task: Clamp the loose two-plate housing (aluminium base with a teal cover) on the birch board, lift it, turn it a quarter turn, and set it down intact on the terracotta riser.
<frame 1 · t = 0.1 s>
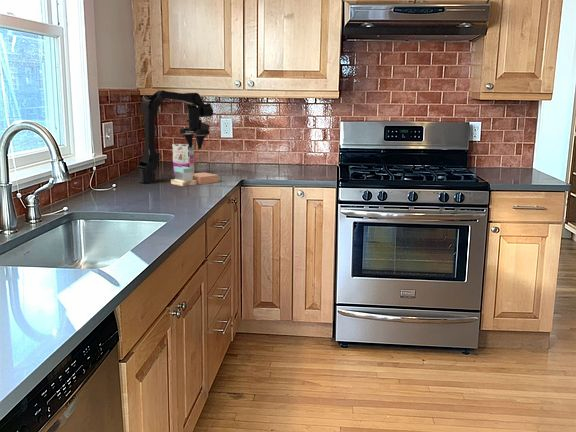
hand: (195, 148, 294), 15 cm above the table, fingers open, 8 cm apart
birch board: (183, 184, 275), on the table
candy bar box: (184, 175, 304), on the table, touching gripper
housing base: (183, 179, 275), point 2 cm above the table, touching birch board, housing cover
housing cover: (183, 171, 274), point 6 cm above the table, touching housing base
terracotta riser: (202, 181, 283), on the table
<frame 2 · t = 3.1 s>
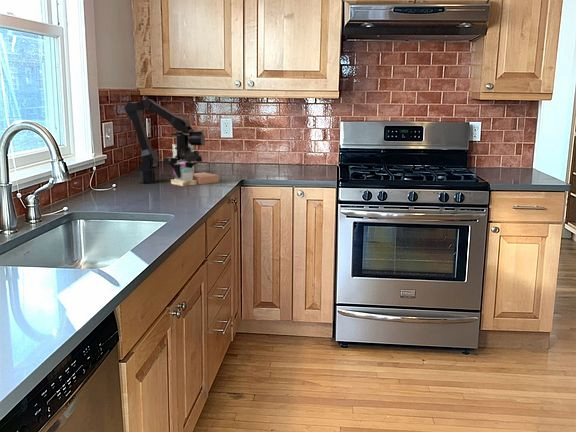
hand: (183, 177, 275), 3 cm above the table, fingers closed on housing base, 5 cm apart
candy bar box: (183, 175, 304), on the table
housing base: (183, 179, 275), point 2 cm above the table, touching birch board, gripper, housing cover
everything else where it was.
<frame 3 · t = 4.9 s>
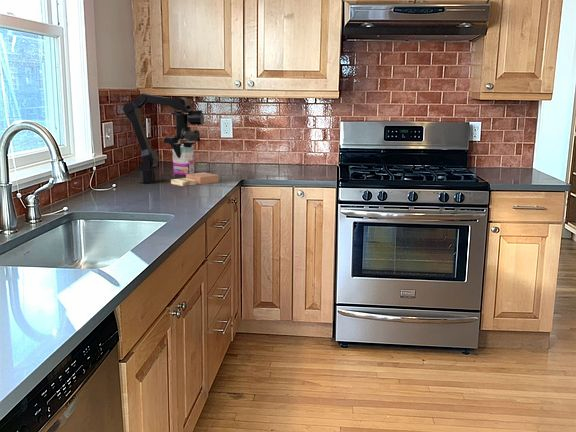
hand: (182, 157, 273), 13 cm above the table, fingers closed on housing base, 5 cm apart
housing base: (183, 159, 273), point 12 cm above the table, touching gripper, housing cover
housing cover: (182, 151, 272), point 16 cm above the table, touching housing base
everything else where it was.
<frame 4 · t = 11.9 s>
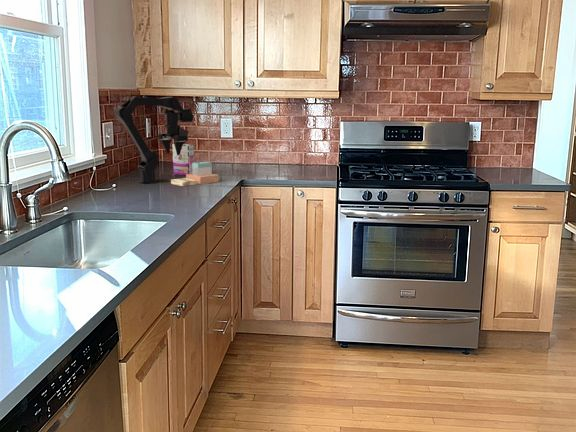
hand: (173, 154, 284), 13 cm above the table, fingers open, 9 cm apart
housing base: (202, 174, 282), point 3 cm above the table, touching housing cover, terracotta riser
housing cover: (202, 166, 281), point 7 cm above the table, touching housing base
everything else where it was.
at the end: housing base 0.1 cm off-centre on the terracotta riser, point 3.5 cm above the terracotta riser's base; housing cover 0.3 cm off-centre on the housing base, point 4.0 cm above the housing base's base; housing base tilted 0° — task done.
